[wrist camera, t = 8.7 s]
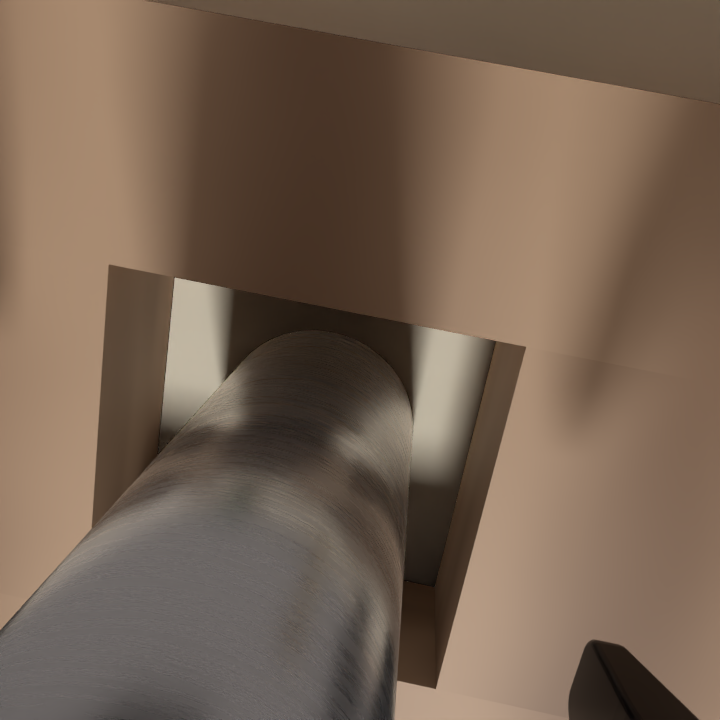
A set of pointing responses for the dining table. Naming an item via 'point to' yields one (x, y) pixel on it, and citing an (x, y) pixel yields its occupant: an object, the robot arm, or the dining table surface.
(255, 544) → the long pin
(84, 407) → the board
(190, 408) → the dining table surface
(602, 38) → the dining table surface
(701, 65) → the dining table surface
